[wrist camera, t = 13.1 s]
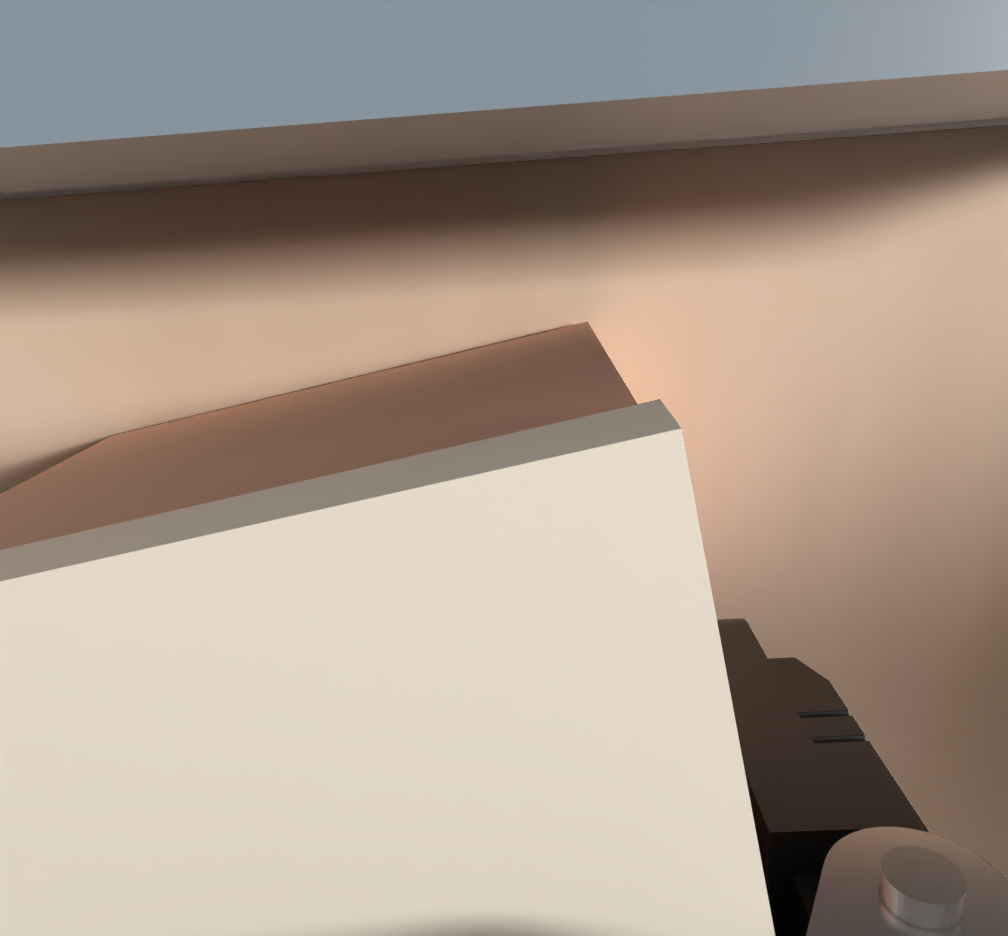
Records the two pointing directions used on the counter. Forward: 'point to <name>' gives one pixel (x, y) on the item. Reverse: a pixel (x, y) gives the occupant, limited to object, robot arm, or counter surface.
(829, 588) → the counter surface
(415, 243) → the counter surface
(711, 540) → the counter surface
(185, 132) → the box
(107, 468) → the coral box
